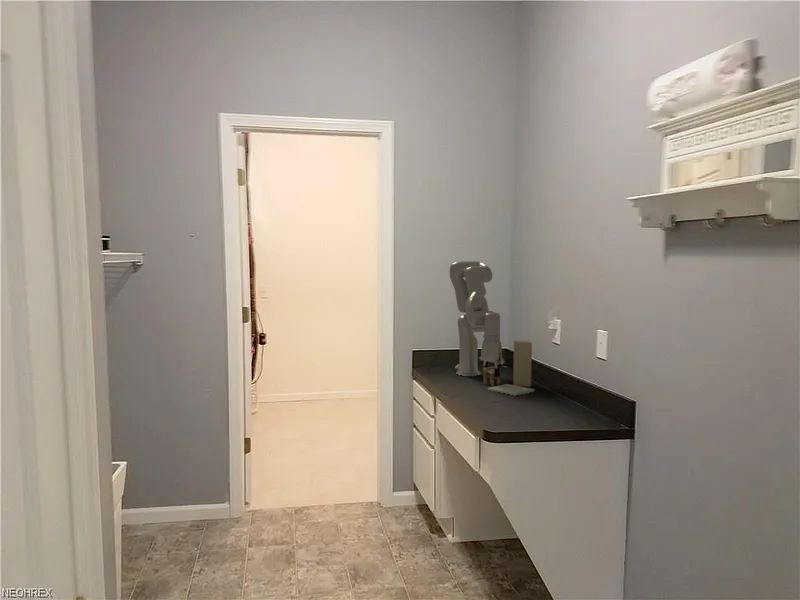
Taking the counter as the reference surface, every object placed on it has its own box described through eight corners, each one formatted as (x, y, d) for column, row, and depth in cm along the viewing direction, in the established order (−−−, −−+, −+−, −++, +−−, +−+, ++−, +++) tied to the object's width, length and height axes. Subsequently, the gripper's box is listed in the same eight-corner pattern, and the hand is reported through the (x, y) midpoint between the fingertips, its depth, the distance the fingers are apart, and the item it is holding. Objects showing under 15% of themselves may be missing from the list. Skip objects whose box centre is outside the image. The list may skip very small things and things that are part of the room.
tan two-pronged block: (482, 384, 282) (483, 367, 281) (491, 382, 286) (491, 366, 285) (492, 386, 277) (492, 369, 277) (500, 384, 281) (500, 368, 280)
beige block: (529, 383, 283) (529, 340, 282) (531, 386, 276) (531, 342, 274) (512, 383, 284) (513, 340, 282) (514, 386, 277) (514, 342, 275)
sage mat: (487, 390, 269) (487, 388, 269) (507, 385, 278) (507, 383, 278) (514, 396, 257) (514, 393, 257) (534, 391, 266) (534, 389, 266)
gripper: (473, 337, 284) (473, 373, 285) (500, 340, 271) (500, 379, 272) (483, 335, 289) (483, 371, 290) (511, 339, 276) (510, 377, 277)
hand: (491, 375), depth 281 cm, fingers closed on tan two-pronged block, 6 cm apart
